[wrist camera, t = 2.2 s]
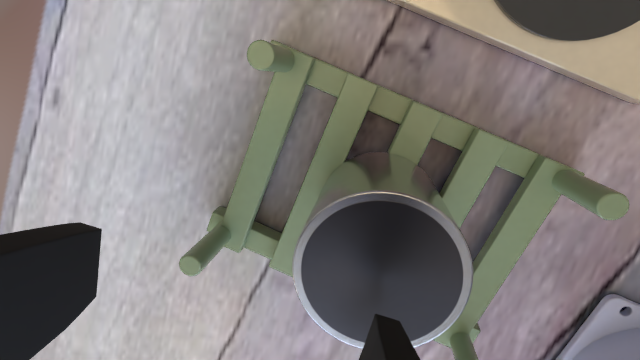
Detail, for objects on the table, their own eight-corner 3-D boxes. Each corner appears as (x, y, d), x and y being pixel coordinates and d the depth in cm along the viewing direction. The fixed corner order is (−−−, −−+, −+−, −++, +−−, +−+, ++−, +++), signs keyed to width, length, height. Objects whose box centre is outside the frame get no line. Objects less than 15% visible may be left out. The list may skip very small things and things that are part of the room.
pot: (461, 182, 16) (510, 238, 10) (406, 282, 18) (421, 379, 12) (346, 132, 16) (331, 160, 10) (301, 235, 18) (267, 309, 12)
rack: (574, 168, 17) (653, 203, 12) (465, 335, 20) (493, 416, 15) (276, 41, 17) (239, 26, 12) (213, 223, 20) (164, 268, 16)
